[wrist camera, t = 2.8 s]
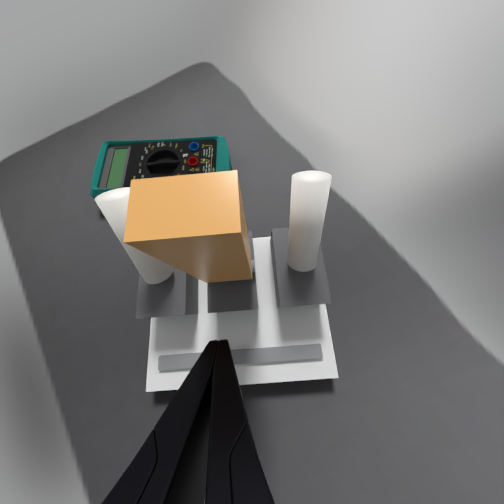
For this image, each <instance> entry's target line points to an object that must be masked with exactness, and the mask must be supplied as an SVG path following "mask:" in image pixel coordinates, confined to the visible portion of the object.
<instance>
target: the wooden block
mask: <svg viewBox="0 0 504 504" xmlns="http://www.w3.org/2000/svg"><path fill="white" fill-rule="evenodd" d="M123 242H124V243H126V244H128V245H130V246H132V247H134V248H136V249H138V250H140V251H142V252H144V253H146V254H148V255H150V256H152V257H154V258H156V259H158V260H160V261H163V262H165V263H167V264H169V265H171V266H173V267H175V268H177V269H179V270H181V271H183V272H185V273H187V274H189V275H191V276H193V277H195V278H197V279H199V280H201V281H203V282H205V283H212V282H224V281H236V280H249V279H253V277H252V272H255V265H254V260H251V251H250V245H249V239H248V233H247V227H246V221H245V215H244V209H243V203H242V197H241V191H240V185H239V179H238V172H237V170H233V171H222V172H211V173H200V174H189V175H178V176H167V177H156V178H145V179H134V180H131V185H130V193H129V201H128V209H127V217H126V225H125V233H124V241H123Z"/></svg>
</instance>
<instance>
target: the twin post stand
mask: <svg viewBox="0 0 504 504" xmlns="http://www.w3.org/2000/svg"><path fill="white" fill-rule="evenodd" d="M331 178H332V176H331V175H330V174H328V173H326V172H322V171H302V172H298V173H295V174H294V175H292V185H291V205H290V224H289V228H279V229H272V231H271V237H262V238H252V231H247V233H248V239H249V245H250V251H251V260H254V265H255V272H252V277H253V279H249V280H236V281H224V282H212V283H205V282H203V281H201V280H199V279H197V278H195V277H193V276H191V275H189V274H187V273H185V272H183V271H181V270H179V269H177V268H175V267H173V266H171V265H169V264H167V263H165V262H163V261H160V260H158V259H156V258H154V257H152V256H150V255H148V254H146V253H144V252H142V251H140V250H138V249H136V248H134V247H132V246H130V245H128V244H126V243H124V242H123V241H124V233H125V225H126V217H127V209H128V201H129V193H130V187H124V188H118V189H113V190H110V191H107V192H104V193H102V194H100V195H98V196H97V197H96V198H95V201H96V203H97V205H98V206H99V208H100V209H101V211H102V213H103V214H104V216H105V218H106V219H107V221H108V222H109V224H110V226H111V227H112V229H113V231H114V232H115V234H116V235H117V237H118V239H119V240H120V242H121V244H122V245H123V247H124V248H125V250H126V252H127V253H128V255H129V257H130V258H131V260H132V261H133V263H134V265H135V266H136V268H137V270H138V271H139V273H140V274H139V284H138V295H137V306H136V316H135V319H141V318H151V327H150V341H149V355H148V369H147V383H146V392H151V391H164V390H178V389H179V388H180V386H181V385H182V383H183V381H184V380H185V378H186V377H187V375H188V374H189V372H190V371H191V369H192V367H193V366H194V364H195V363H196V361H197V360H198V358H199V356H200V355H201V353H202V352H203V350H204V349H205V347H206V345H207V344H208V342H209V341H211V340H222V339H228V342H229V346H230V350H231V354H232V358H233V362H234V366H235V370H236V374H237V378H238V382H239V385H247V384H261V383H274V382H288V381H302V380H316V379H329V378H338V372H337V367H336V361H335V355H334V350H333V344H332V339H331V333H330V328H329V322H328V316H327V311H326V305H325V304H331V303H332V301H331V295H330V290H329V285H328V279H327V274H326V269H325V264H324V258H323V253H322V248H321V242H320V240H321V235H322V229H323V223H324V218H325V212H326V206H327V201H328V195H329V190H330V184H331Z"/></svg>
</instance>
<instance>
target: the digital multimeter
mask: <svg viewBox="0 0 504 504" xmlns="http://www.w3.org/2000/svg"><path fill="white" fill-rule="evenodd" d="M150 154H151V155H150ZM149 155H150V156H149ZM148 156H149V157H148ZM146 159H147V160H146ZM145 161H146V162H145ZM222 171H232V167H231V162H230V156H229V151H228V147H227V143H226V140H225V138H224V137H223V136H211V137H196V138H180V139H161V140H133V141H105V142H103V144H102V146H101V149H100V152H99V154H98V157H97V160H96V163H95V167H94V171H93V175H92V181H91V188H90V195H91V196H92V197H93V198H96V197H97V196H98V195H100V194H102V193H104V192H107V191H110V190H113V189H118V188H124V187H130V185H131V180H134V179H145V178H156V177H167V176H178V175H189V174H200V173H211V172H222Z"/></svg>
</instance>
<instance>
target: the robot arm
mask: <svg viewBox="0 0 504 504" xmlns="http://www.w3.org/2000/svg"><path fill="white" fill-rule="evenodd" d="M205 492H206V496H205ZM204 499H205V504H275V503H274V500H273V497H272V495H271V492H270V489H269V486H268V484H267V481H266V478H265V475H264V472H263V469H262V467H261V464H260V461H259V458H258V455H257V451H256V448H255V444H254V440H253V437H252V433H251V429H250V425H249V422H248V417H247V413H246V409H245V405H244V401H243V397H242V393H241V389H240V385H239V382H238V378H237V374H236V370H235V366H234V362H233V358H232V354H231V350H230V346H229V342H228V339H222V340H211V341H209V342H208V344H207V345H206V347H205V349H204V350H203V352H202V353H201V355H200V356H199V358H198V360H197V361H196V363H195V364H194V366H193V367H192V369H191V371H190V372H189V374H188V375H187V377H186V378H185V380H184V381H183V383H182V385H181V386H180V388H179V389H178V391H177V392H176V394H175V396H174V397H173V399H172V400H171V402H170V403H169V405H168V407H167V408H166V410H165V411H164V413H163V414H162V416H161V418H160V419H159V421H158V422H157V424H156V425H155V427H154V430H152V432H151V433H150V435H149V436H148V438H147V439H146V441H145V443H144V444H143V446H142V447H141V449H140V450H139V452H138V453H137V455H136V456H135V458H134V459H133V461H132V462H131V464H130V465H129V466H128V468H127V469H126V471H125V472H124V473H123V475H122V476H121V478H120V479H119V480H118V482H117V483H116V485H115V486H114V487H113V489H112V490H111V491H110V493H109V494H108V495H107V497H106V498H105V499H104V501H103V502H102V504H204Z"/></svg>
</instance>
